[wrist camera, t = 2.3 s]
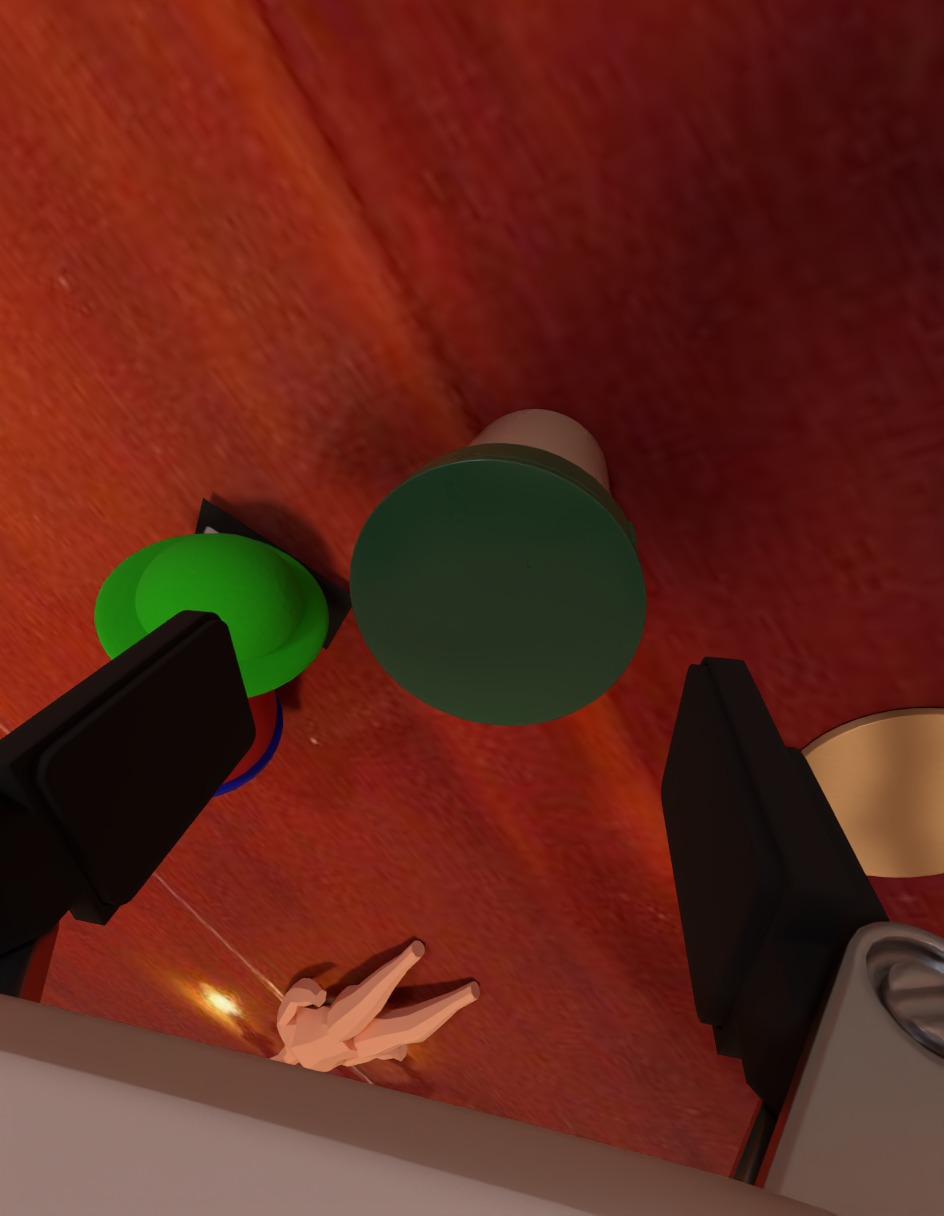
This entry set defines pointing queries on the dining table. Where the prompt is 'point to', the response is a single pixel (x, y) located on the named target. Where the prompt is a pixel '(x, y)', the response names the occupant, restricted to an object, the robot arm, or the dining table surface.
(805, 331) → the dining table surface
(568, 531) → the jar lid
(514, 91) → the dining table surface
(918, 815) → the coaster
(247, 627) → the toy figure
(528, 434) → the beige cylinder
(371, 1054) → the male figurine
